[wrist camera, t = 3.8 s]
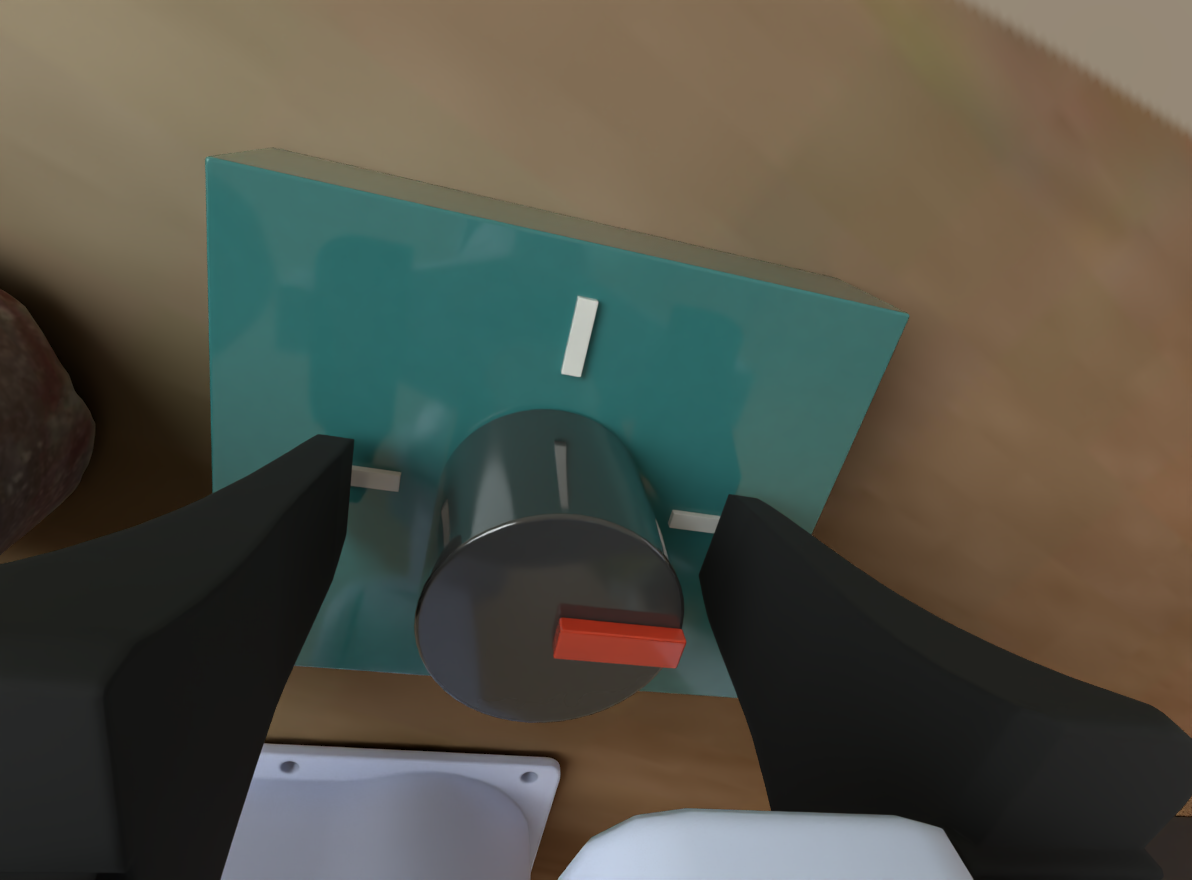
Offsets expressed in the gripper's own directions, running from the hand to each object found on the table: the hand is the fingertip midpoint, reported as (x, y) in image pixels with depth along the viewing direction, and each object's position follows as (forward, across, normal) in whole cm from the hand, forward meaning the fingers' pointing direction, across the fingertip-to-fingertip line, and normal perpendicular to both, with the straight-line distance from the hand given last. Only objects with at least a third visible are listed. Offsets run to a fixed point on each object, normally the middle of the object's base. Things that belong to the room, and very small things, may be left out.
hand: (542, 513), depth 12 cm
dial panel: (+3, 0, 0) cm, 3 cm away
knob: (0, 0, 0) cm, 0 cm away
